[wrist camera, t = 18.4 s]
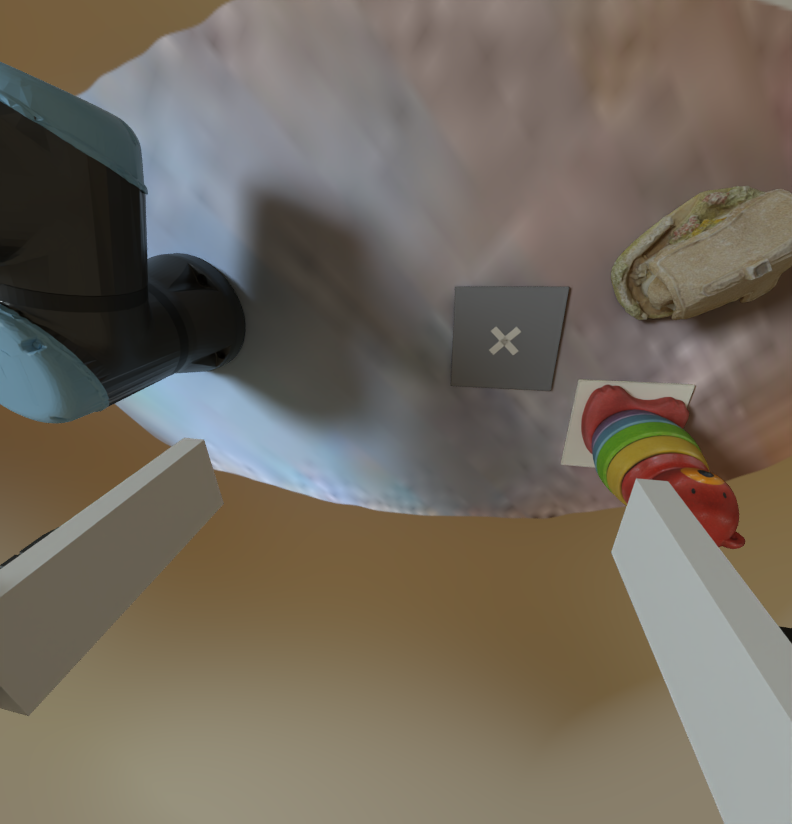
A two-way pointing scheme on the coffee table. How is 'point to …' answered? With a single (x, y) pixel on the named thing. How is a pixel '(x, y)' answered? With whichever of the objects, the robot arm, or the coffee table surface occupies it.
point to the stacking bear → (657, 456)
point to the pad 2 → (574, 443)
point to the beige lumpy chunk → (707, 254)
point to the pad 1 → (507, 336)
